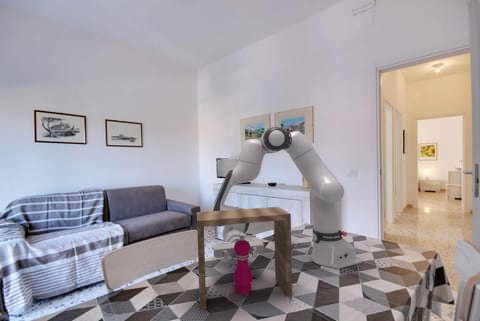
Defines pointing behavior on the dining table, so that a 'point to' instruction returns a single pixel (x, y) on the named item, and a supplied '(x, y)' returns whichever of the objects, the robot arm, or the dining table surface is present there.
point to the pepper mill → (242, 267)
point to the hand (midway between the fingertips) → (242, 256)
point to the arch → (250, 216)
